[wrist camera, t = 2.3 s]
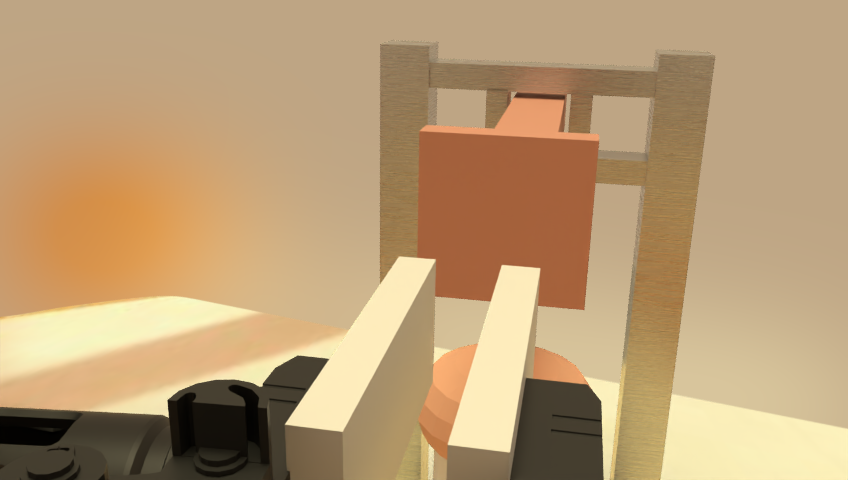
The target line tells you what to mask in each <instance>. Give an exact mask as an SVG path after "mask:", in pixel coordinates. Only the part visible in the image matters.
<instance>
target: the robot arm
mask: <svg viewBox="0 0 848 480" xmlns="http://www.w3.org/2000/svg"><path fill="white" fill-rule="evenodd" d="M435 279H436V259H424V258H412V257H400V256H399V257H398V259H397V260H396V262H395V263H394V265H393V266H392V268H391V269H390V271H389V272H388V274H387V275H386V277H385V278H384V279H383V281H382V282H381V284H380V286H379V287H378V289H377V290H376V291H375V293H374V294H373V296H372V297H371V299H370V300H369V302H368V303H367V305H366V306H365V308H364V309H363V311H362V312H361V313H360V315H359V316H358V318H357V319H356V321H355V322H354V324H353V325H352V327H351V328H350V329H349V331H348V332H347V334H346V335H345V337H344V338H343V340H342V341H341V343H340V344H339V346H338V347H337V349H336V350H335V352H334V353H333V354H332V356H331V357H330V359H325V358H316V357H307V356H296V357H294V358H293V359H291V360H289V361H287V362H285V363H283V364H282V365H280V366H278V367H276V368H275V369H274V370H273V372H272V373H271V374H270V375H269V377H268V378H267V379H266V380H265V382H264V383H263V387H259V386H257V385H255V384H253V383H250V382H244V381H239V380H213V381H208V382H203V383H198V384H195V385H192V386H190V387H187V388H185V389H182V390H180V391H178V392H177V393H176V394H175V395H173V396H172V397H171V398H169V399H168V411H169V422H170V433H171V444H172V455H173V456H172V457H171V458H170V460H169V461H168V462H167V464H166V465H165V466H164V468H163V469H162V470H161V472H157V473H149V474H137V475H124V476H110V477H109V474H108V465H107V461H106V459H105V457H104V455H103V454H102V452H100V451H98V450H96V449H94V448H92V447H90V446H82V445H74V444H62V445H54V446H48V447H46V448H44V449H40V450H37V451H33V452H30V453H28V454H26V455H24V456H22V457H20V458H18V459H16V460H14V461H12V462H11V463H9V464H8V465H6V466H4V467H3V468H1V469H0V480H395V478H396V475H397V473H398V470H399V468H400V465H401V462H402V460H403V457H404V455H405V452H406V449H407V447H408V444H409V442H410V439H411V436H412V434H413V431H414V429H415V426H416V424H417V421H418V418H419V416H420V413H421V411H422V408H423V405H424V403H425V400H426V398H427V395H428V392H429V390H430V387H431V385H432V382H433V359H434V319H435V318H434V317H435ZM539 282H540V268H532V267H520V266H508V265H502V266H501V270H500V273H499V276H498V280H497V283H496V286H495V290H494V293H493V296H492V299H491V303H490V306H489V309H488V313H487V316H486V320H485V323H484V326H483V329H482V333H481V336H480V339H479V343H478V346H477V349H476V352H475V356H474V359H473V362H472V366H471V369H470V372H469V376H468V379H467V382H466V386H465V389H464V392H463V395H462V399H461V402H460V405H459V409H458V412H457V415H456V419H455V422H454V425H453V429H452V432H451V435H450V438H449V442H448V448H447V479H446V480H604V479H603V445H602V411H601V401H600V400H599V398H598V397H597V396H596V394H595V393H594V392H593V391H592V389H591V388H590V387H589V386H588V384H579V383H569V382H560V381H551V380H541V379H533V370H534V355H535V341H536V325H537V311H538V297H539Z"/></svg>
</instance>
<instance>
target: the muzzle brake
mask: <svg viewBox="0 0 848 480" xmlns="http://www.w3.org/2000/svg"><path fill="white" fill-rule="evenodd" d="M62 444H74V445H82V446H90V447H92V448H94V449H96V450H98V451H100V452H102V454H103V455H104V457H105V459H106V461H107V465H108V474H109V477H110V476H124V475H137V474H149V473H157V472H161V470H162V469H163V468H164V466H165V465H166V464H167V462H168V461H169V460H170V458H171V457H172V456H173V455H172V444H171V433H170V422H169V418H168V417H166V416H163V415H149V414H129V413H109V412H90V411H70V410H50V409H30V408H10V407H0V469H1V468H3V467H4V466H6V465H8V464H9V463H11V462H12V461H14V460H16V459H18V458H20V457H22V456H24V455H26V454H28V453H30V452H33V451H37V450H40V449H44V448H46V447H48V446H54V445H62Z"/></svg>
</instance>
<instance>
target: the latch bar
mask: <svg viewBox="0 0 848 480" xmlns="http://www.w3.org/2000/svg"><path fill="white" fill-rule="evenodd" d="M566 97H567V94H557V93H535V92H517V93H516V95H515V97H514V98H513V100H512V101H511V103H510V105H509V106H508V108H507V109H506V111H505V113H504V114H503V116H502V117H501V119H500V121H499V122H498V124H497V125H496V127H495V129H490V128H472V127H453V126H434V125H426V126H425V127H423V128H422V129H421V130H420V131H419V186H418V244H417V258H424V259H436V279H435V296H437V297H448V298H459V299H470V300H481V301H491V299H492V296H493V293H494V290H495V286H496V283H497V280H498V276H499V273H500V270H501V266H502V265H508V266H520V267H532V268H540V282H539V297H538V306H546V307H558V308H568V309H580V310H584V307H585V295H586V284H587V273H588V261H589V250H590V239H591V226H592V215H593V205H594V193H595V192H594V191H595V182H596V171H597V159H598V148H599V135H598V134H584V133H565V132H564V126H565V112H566V99H567V98H566Z"/></svg>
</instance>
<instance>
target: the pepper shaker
mask: <svg viewBox="0 0 848 480" xmlns="http://www.w3.org/2000/svg"><path fill="white" fill-rule="evenodd" d="M477 346H478V344H474V345H469V346H464V347H460V348H457V349H455V350H453V351H451V352H448V353H446V354H444V355H443V356H442V357H441V358H440V359H439V360H437V361H436V362H435V363H434V364H433V382H432V385H431V387H430V390H429V392H428V395H427V398H426V400H425V403H424V405H423V408H422V411H421V413H420V416H419V418H418V421H419V424H420V427H421V430H422V433H423V435H424V437H425V439H426V440H427V442H428V443H429V444H430V445H431V446H432V448H433V449H434V470H433V480H446V479H447V448H448V442H449V438H450V435H451V432H452V429H453V425H454V422H455V419H456V415H457V412H458V409H459V405H460V402H461V399H462V395H463V392H464V389H465V386H466V382H467V379H468V376H469V372H470V369H471V366H472V362H473V359H474V356H475V352H476V349H477ZM533 379H541V380H551V381H560V382H569V383H579V384H588V383H587V381H586V380H585V378H584V376H583V375H582V374H581V372H580V371H579V370H578V368H577V367H576V366H575V365H574V364H572V363H571V362H569V361H568V360H567V359H565V358H564V357H562V356H560V355H558V354H555V353H552V352H550V351H547V350H545V349H542V348H538V347H535V355H534V370H533ZM588 386H589V384H588ZM589 387H590V386H589ZM590 388H591V387H590Z"/></svg>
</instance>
